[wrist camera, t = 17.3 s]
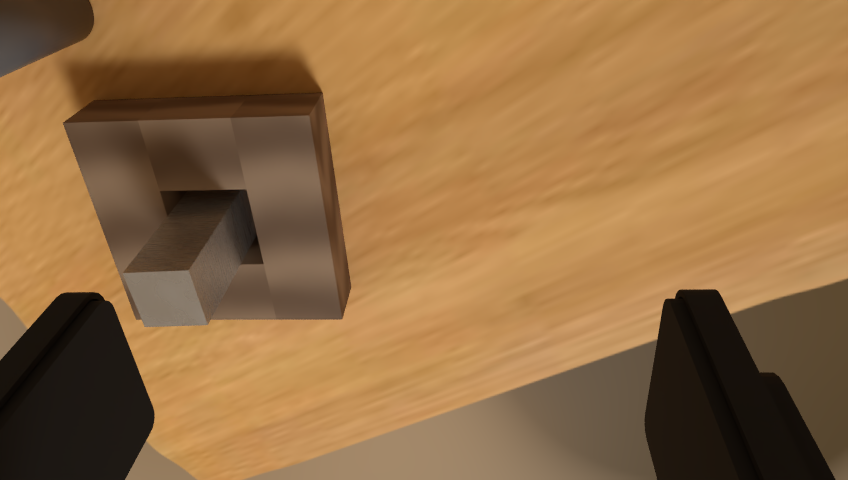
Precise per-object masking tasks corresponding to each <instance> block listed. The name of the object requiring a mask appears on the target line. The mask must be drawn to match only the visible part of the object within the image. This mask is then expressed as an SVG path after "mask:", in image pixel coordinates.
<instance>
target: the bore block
mask: <svg viewBox="0 0 848 480" xmlns="http://www.w3.org/2000/svg"><path fill="white" fill-rule="evenodd" d="M63 125H64V127H65V130H66V133H67V135H68V138H69V141H70V144H71V146H72V149H73V152H74V154H75V157H76V160H77V162H78V165H79V168H80V170H81V173H82V176H83V178H84V181H85V184H86V186H87V189H88V192H89V194H90V197H91V200H92V202H93V205H94V208H95V210H96V213H97V216H98V219H99V221H100V224H101V227H102V229H103V232H104V235H105V237H106V240H107V243H108V245H109V248H110V251H111V253H112V256H113V259H114V261H115V264H116V267H117V269H118V272H119V275H120V277H121V280H122V283H123V285H124V288H125V291H126V293H127V296H128V299H129V302H130V304H131V307H132V310H133V312H134V315H135V318H136V320H142V319H141V317H140V314H139V312H138V309H137V307H136V305H135V302H134V300H133V297H132V295H131V292H130V290H129V288H128V285H127V283H126V280H125V278H124V276H123V272H124V271H125V269H126V268H127V267H128V265H129V264H130V263H131V262H132V260H133V259H134V258H135V257H136V255H137V254H138V253H139V252H140V250H141V249H142V248H143V247H144V245H145V244H146V243H147V242H148V240H149V239H150V238H151V236H152V235H153V234H154V233H155V231H156V230H157V229H158V228H159V226H160V225H161V224H162V223H163V221H164V220H165V219H166V218H167V216H168V215H169V214H170V213H171V211H172V210H173V209H174V207H175V206H176V205H177V204H178V202H179V201H180V200H181V199H182V197H183V196H184V195H185V194H186V192H187V191H188V190H237V189H247V193H248V198H249V202H250V206H251V211H252V215H253V219H254V224H255V228H256V232H257V235H256V237H255V239H254V241H253V243H252V244H251V246H250V248H249V250H248V252H247V254H246V256H245V257H244V259H243V261H242V263H241V265H240V267H239V268H238V270H237V272H236V274H235V276H234V278H233V279H232V281H231V283H230V285H229V287H228V289H227V291H226V292H225V294H224V296H223V298H222V300H221V302H220V303H219V305H218V307H217V309H216V311H215V313H214V314H213V316H212V318H211V320H222V319H342V318H343V315H344V311H345V308H346V304H347V300H348V297H349V293H350V290H351V283H350V276H349V269H348V263H347V256H346V249H345V242H344V236H343V229H342V222H341V215H340V208H339V202H338V195H337V188H336V181H335V175H334V168H333V161H332V154H331V148H330V141H329V134H328V127H327V120H326V114H325V107H324V100H323V93H302V94H272V95H243V96H213V97H183V98H154V99H124V100H94V101H93V102H91V103H90V104H88V105H87V106H86V107H84V108H83V109H81V110H80V111H79V112H77V113H76V114H75V115H73V116H72V117H70V118H69V119H68V120H66V121H65V122H63Z"/></svg>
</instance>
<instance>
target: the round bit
mask: <svg viewBox="0 0 848 480" xmlns="http://www.w3.org/2000/svg"><path fill="white" fill-rule="evenodd" d="M93 23H94V16H93V11H92V7H91V5H90V3H89V1H88V0H0V77H2V76H4V75H6V74H9V73H11V72H13V71H15V70H17V69H20V68H22V67H24V66H26V65H28V64H31V63H33V62H35V61H37V60H40V59H42V58H44V57H46V56H48V55H51V54H53V53H55V52H57V51H59V50H62V49H64V48H66V47H68V46H70V45H73V44H75V43H77V42H79V41H81V40H83V39H85V38H86V37H87V36H88V35H89V34H90V32H91V30H92V28H93Z"/></svg>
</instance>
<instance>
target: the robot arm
mask: <svg viewBox="0 0 848 480" xmlns="http://www.w3.org/2000/svg"><path fill="white" fill-rule="evenodd" d="M153 424H154V409H153V406H152V404H151V401H150V398H149V396H148V393H147V391H146V388H145V386H144V383H143V381H142V378H141V375H140V373H139V370H138V368H137V365H136V363H135V360H134V358H133V355H132V352H131V350H130V347H129V345H128V342H127V340H126V337H125V335H124V332H123V329H122V327H121V324H120V322H119V319H118V317H117V314H116V312H115V309H114V307H113V305H112V304H111V303H110V302H109V301H105V300H104V298H103V297H102V296H101V295H100V294H99V293H95V292H74V293H62V294H60V295H59V296H58V297H56V299H55V300H54V301H53V302H52V303H51V304H50V305H49V306H48V308H47V309H46V310H45V311H44V312H43V313H42V314H41V315H40V317H39V318H38V319H37V320H36V321H35V322H34V323H33V324H32V325H31V327H30V328H29V329H28V330H27V331H26V332H25V333H24V334H23V336H22V337H21V338H20V339H19V340H18V341H17V342H16V344H15V345H14V346H13V347H12V348H11V349H10V350H9V351H8V353H7V354H6V355H5V356H4V357H3V358H2V359H1V360H0V480H125V478H126V477H127V475H128V473H129V471H130V469H131V467H132V465H133V464H134V462H135V460H136V458H137V456H138V454H139V452H140V451H141V449H142V447H143V445H144V443H145V441H146V440H147V438H148V436H149V434H150V432H151V430H152V428H153ZM645 433H646V438H647V442H648V446H649V450H650V454H651V457H652V461H653V465H654V469H655V472H656V476H657V480H835V478H834V476H833V474H832V472H831V470H830V469H829V467H828V465H827V463H826V461H825V459H824V457H823V456H822V454H821V452H820V450H819V448H818V446H817V444H816V442H815V441H814V439H813V437H812V435H811V433H810V431H809V429H808V427H807V426H806V424H805V422H804V420H803V419H802V416H801V415H800V413H799V411H798V409H797V407H796V405H795V403H794V401H793V400H792V398H791V396H790V394H789V392H788V390H787V388H786V386H785V384H784V383H783V382H782V380H781V379H780V377H779V376H777V375H776V374H775V373H759V371H758V369H757V367H756V365H755V363H754V361H753V359H752V357H751V355H750V353H749V351H748V349H747V347H746V345H745V343H744V341H743V339H742V337H741V335H740V333H739V331H738V329H737V327H736V325H735V323H734V321H733V319H732V317H731V315H730V313H729V311H728V309H727V307H726V305H725V303H724V301H723V299H722V297H721V295H720V293H719V292H718V291H717V290H679V291H678V292H677V294H676V297H675V299H665V301H664V304H663V309H662V316H661V322H660V328H659V334H658V340H657V346H656V352H655V358H654V364H653V370H652V376H651V382H650V389H649V395H648V400H647V406H646V412H645Z"/></svg>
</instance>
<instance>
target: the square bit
mask: <svg viewBox="0 0 848 480" xmlns="http://www.w3.org/2000/svg"><path fill="white" fill-rule="evenodd" d="M256 235H257V232H256V228H255V224H254V219H253V215H252V211H251V206H250V202H249V198H248V193H247V189H237V190H188V191H187V192H186V194H185V195H184V196H183V197H182V199H181V200H180V201H179V202H178V204H177V205H176V206H175V207H174V209H173V210H172V211H171V213H170V214H169V215H168V216H167V218H166V219H165V220H164V221H163V223H162V224H161V225H160V226H159V228H158V229H157V230H156V231H155V233H154V234H153V235H152V236H151V238H150V239H149V240H148V242H147V243H146V244H145V245H144V247H143V248H142V249H141V250H140V252H139V253H138V254H137V255H136V257H135V258H134V259H133V260H132V262H131V263H130V264H129V265H128V267H127V268H126V269H125V271H124V272H123V276H124V278H125V280H126V283H127V285H128V288H129V290H130V292H131V295H132V297H133V300H134V302H135V305H136V307H137V309H138V312H139V314H140V317H141V319H142V321H143V324H144V326H145V327H161V326H192V325H208V324H209V322H210V320H211V318H212V316H213V314H214V313H215V311H216V309H217V307H218V305H219V303H220V302H221V300H222V298H223V296H224V294H225V292H226V291H227V289H228V287H229V285H230V283H231V281H232V279H233V278H234V276H235V274H236V272H237V270H238V268H239V267H240V265H241V263H242V261H243V259H244V257H245V256H246V254H247V252H248V250H249V248H250V246H251V244H252V243H253V241H254V239H255V237H256Z"/></svg>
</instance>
